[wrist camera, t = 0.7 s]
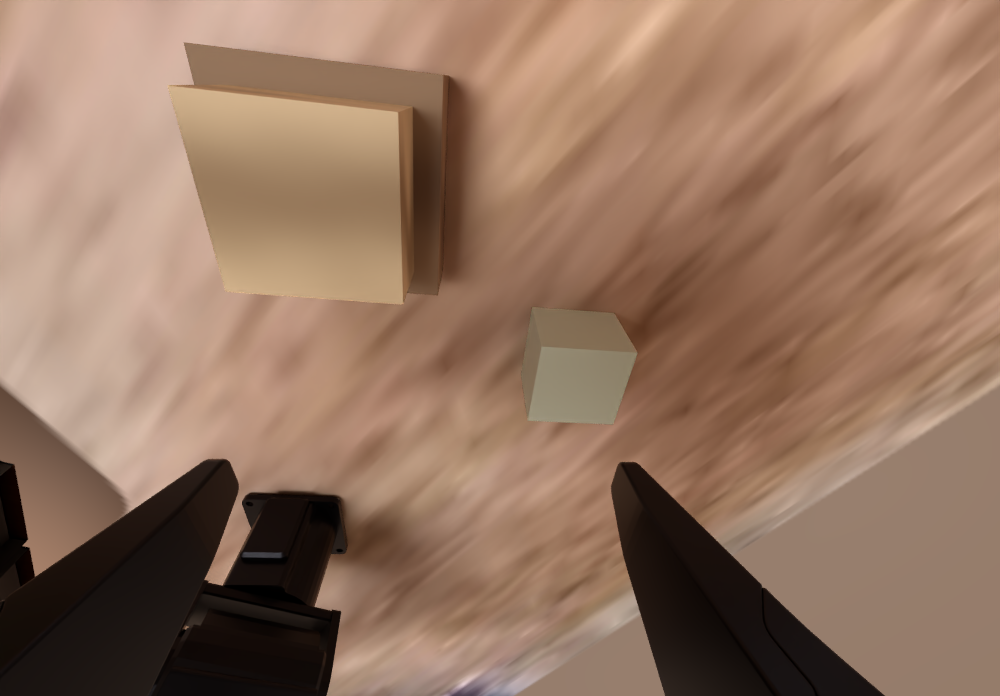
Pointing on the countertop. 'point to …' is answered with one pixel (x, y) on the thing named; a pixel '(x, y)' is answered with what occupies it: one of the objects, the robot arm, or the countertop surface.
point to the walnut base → (367, 86)
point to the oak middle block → (303, 190)
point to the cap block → (575, 366)
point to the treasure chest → (12, 535)
